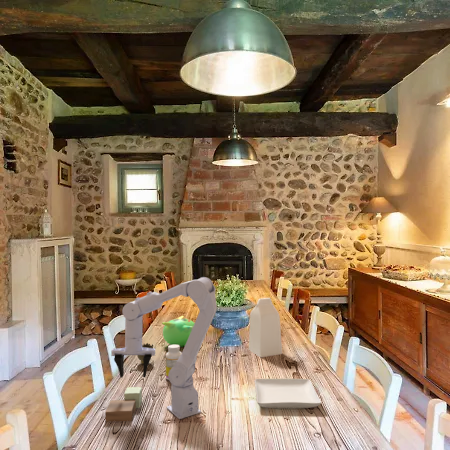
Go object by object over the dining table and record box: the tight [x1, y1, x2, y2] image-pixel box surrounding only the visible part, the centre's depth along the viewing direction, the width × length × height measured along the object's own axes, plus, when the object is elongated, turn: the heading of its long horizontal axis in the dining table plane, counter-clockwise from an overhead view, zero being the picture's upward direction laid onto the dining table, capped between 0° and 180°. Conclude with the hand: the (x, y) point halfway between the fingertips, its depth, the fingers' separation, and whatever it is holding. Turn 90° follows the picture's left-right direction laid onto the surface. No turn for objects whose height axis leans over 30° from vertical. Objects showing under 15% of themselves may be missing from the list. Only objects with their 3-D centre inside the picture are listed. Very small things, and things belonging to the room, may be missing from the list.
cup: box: [136, 342, 154, 365], centre depth 171 cm, size 8×7×8 cm
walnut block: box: [104, 399, 137, 423], centre depth 123 cm, size 8×8×4 cm
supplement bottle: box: [165, 344, 182, 381], centre depth 153 cm, size 7×7×13 cm
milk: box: [248, 297, 283, 358], centre depth 186 cm, size 12×12×26 cm
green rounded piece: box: [161, 315, 195, 348], centre depth 196 cm, size 18×17×15 cm
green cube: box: [123, 386, 143, 409], centre depth 130 cm, size 5×5×5 cm
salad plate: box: [253, 378, 322, 409], centre depth 135 cm, size 21×21×3 cm
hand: (133, 376), depth 131 cm, fingers open, 7 cm apart
